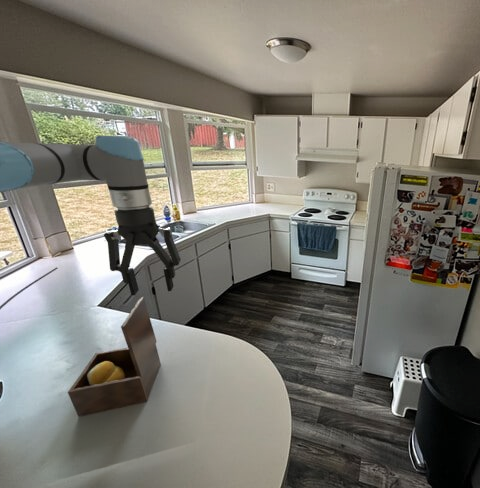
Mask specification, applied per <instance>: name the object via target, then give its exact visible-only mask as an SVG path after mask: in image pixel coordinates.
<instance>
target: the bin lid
mask: <svg viewBox="0 0 480 488" xmlns="http://www.w3.org/2000/svg"><path fill="white" fill-rule="evenodd" d="M120 329H121V332H122V334H123V337H124V341H125V343H126V346H127V348H128V349H129V352H130V355H131V358H132V361H133V364H134V366H135V369H136V372H137V375H138V377H141V376H142V374H143V372H144V369H145V367H146V365H147V363H148V360H149V358H150V356H151V353H152V351H153V349H154V347H155V344H156V345H157V342H158V341H157V338H156V334H155V331H154V327H153V324H152V321H151V318H150V314H149V310H148V307H147V304H146V300H145V297H144V296H141V297H140V298H139V299H138V300H137V302H136V303H135V305H134V307H133V308H132V309H131V311H130V313H129V314H128V316H127V317H126V318H125V320H124V321H123V323H122V325H121V326H120Z"/></svg>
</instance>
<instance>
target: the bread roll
mask: <svg viewBox="0 0 480 488" xmlns="http://www.w3.org/2000/svg"><path fill="white" fill-rule="evenodd" d="M87 379H88V381H89V384H90V385H91V386H92V385H97V384H102V383H107V382H112V381H117V380H122V379H125V374H124V372H123V370H122V368H120V367H117V366H114V364H113V363H112V362H110V361H104V362H102V363H100V364H98V365H96V366H95V367H94V368H93V369H92V370H91V371H90V372H89V373H88V374H87Z"/></svg>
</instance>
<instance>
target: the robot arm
mask: <svg viewBox="0 0 480 488" xmlns="http://www.w3.org/2000/svg"><path fill="white" fill-rule="evenodd" d="M94 139H95V143H94V144H77V143H76V144H75V143H74V144H73V143H72V144H71V143H61V142H56V143H55V142H48V143H43V142H40V143H39V142H11V141H9V142H7V141H0V193H1V194H2V193H6V192H7V193H8V192H12V191H16V190H20V189H25V188H33V187H38V186H47V185H53V184H54V185H55V184H62V183H69V182H70V183H71V182H76V181H77V182H78V181H101V182H103V181H104V182H105V183H106V186H107V188H108V193H109V197H110V200H111V204H112V207H114V210H113V213H114V216H115V220H116V223H117V226H118V228H117V229H116V230H112V229H110V230H107V231H106V232H105V233H103V237H104V238H105V241H106V242H107V251H108V252H107V253H108V262H109V270H110V271H111V272H119V273H120V274H121V277H122V281H123V282H124V284H128V287H129V291H130V295H131V296H136V294H137V293H138V292H139V285H138V282H137V278H136V274H135V269H134V267H131V266H130V265H131V262H132V258H133V254H134V250H135V246H139V245H148V247H149V248H151V249H152V250H153V252H154V253H155V254H156V256H157V257H158V258H159V260H160V261H161V262H162V264H163V265H164V268H163V270H162V271H163V274H164V275H163V276H164V279H165V283H166V289H167V292H172V290H173V288H174V286H175V285H174V282H173V281H174V280H173V279H175V276H176V270H175V267H176V266H179V265H180V263H181V262H182V261H181V256H180V253H179V251H178V249H177V246H176V243H175V239H174V238H173V228H172V227H170V226H168V227H167V228H166V227H160V226H159V225H158V224H157V219H156V215H155V209H154V207H153V206H152V204H153V201H152V196H151V192H150V187H149V183H148V178H147V172H146V167H145V163H144V162H145V161H144V160H145V158H144V156H143V152H142V150H141V146H140V142H139V140H137V139H136V138H134V137H132V136H121V135H120V136H119V135H96V136H95V138H94ZM158 234H160V236H161V237H163V240H164V243H165V246H166V248H167V251H168V253H167V251H166V249H165V248H164V247H163V246H162V244H161V243H160V241H159V239H158V238H157V236H158ZM120 237H121V238H123V239H124V240H125V245H124V251H123V255H122V258H120V243H119V238H120ZM130 267H131V268H130ZM58 269H59V268H58V267H57V266H56V267H55V268H53V269H51V270H50V271H48V272H46V273H45V274H43V275H42V276H40V277H38V278H37V279H35V280H33V281H32V282H30V283H29V284H28V285H26V286H24V287H23V288H21V289H20V290H19V291H17V292H16V293H14V295H12V296H11V297H9V298H8V299H7V300H6V301H4V302H3V303H2V304H1V305H0V310H1V309H2V308H4V307H5V306H6V305H7V304H8V303H9V302H11V301H12V300H13V299H14V298H16V297H17V296H18V295H19V294H21V293H23V291H25V290H27V289H28V288H29V287H31V286H32V285H34V284H36V283H38V282H39V281H40V280H42V279H43V278H45V277H46V276H48V275H50V274H51V273H53V272H54V271H56V270H58Z"/></svg>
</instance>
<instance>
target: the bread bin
mask: <svg viewBox="0 0 480 488" xmlns="http://www.w3.org/2000/svg"><path fill="white" fill-rule="evenodd" d="M104 361H110V362H112V363H113V364H114V366H117V367H120V368H122V370H123V372H124V374H125V379H122V380H117V381H112V382H107V383H102V384H97V385H92V386H91V385H90V384H89V381H88V379H87V374H88V373H89V372H90V371H91V370H92V369H93V368H94V367H95V366H96V365H98V364H100V363H102V362H104ZM161 365H162V363H161V360H160V355H159V352H158V348H157V343H156V344H155V347H154V349H153V351H152V353H151V356H150V358H149V360H148V363H147V365H146V367H145V369H144V372H143V374H142V376H141V377H138V375H137V372H136V369H135V366H134V364H133V361H132V358H131V355H130V352H129V349H128V347H124V348H118V349H117V348H116V349H111V350H106V351H100V352H95V354H94V355H93V356H92V358H91V359H90V361H89V362H88V363H87V365H86V366H85V367H84V369H83V370H82V372H81V373H80V374H79V376H78V378H76V380H75V381H74V383H73V384H72V385H71V387H70V389H69V390H68V391H67V394H68V396H69V399H70V400H71V404H72V406H73V408H74V410H75V412H76V415H77V417H78V418H79V417H84V416H88V415H93V414H96V413H97V414H98V413H101V412H106V411H111V410H116V409H119V408H123V407H128V406H134V405H138V404H142V403H146V402H148V400H149V398H150V395H151V392H152V390H153V387H154V384H155V381H156V380H157V376H158V373H159V371H160V368H161Z"/></svg>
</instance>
